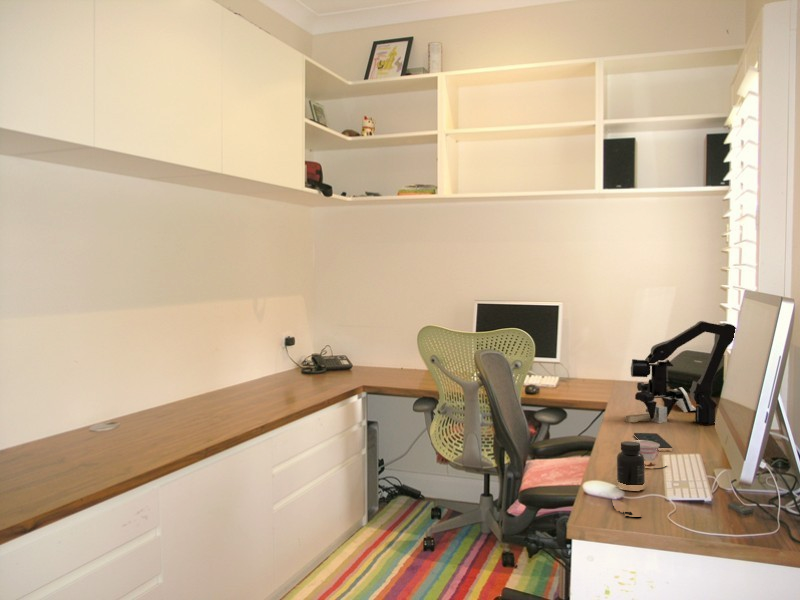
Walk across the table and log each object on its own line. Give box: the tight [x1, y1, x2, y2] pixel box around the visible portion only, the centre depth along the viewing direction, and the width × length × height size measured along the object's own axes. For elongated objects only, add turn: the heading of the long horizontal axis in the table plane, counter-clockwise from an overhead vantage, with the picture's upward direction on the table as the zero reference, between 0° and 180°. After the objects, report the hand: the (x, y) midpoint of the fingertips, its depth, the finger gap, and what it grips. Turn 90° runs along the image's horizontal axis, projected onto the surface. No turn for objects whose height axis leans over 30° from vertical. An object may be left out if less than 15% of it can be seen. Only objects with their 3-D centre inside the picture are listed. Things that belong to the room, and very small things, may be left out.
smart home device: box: [633, 432, 673, 448], centre depth 214 cm, size 8×2×20 cm
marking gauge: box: [645, 404, 668, 424], centre depth 249 cm, size 8×4×6 cm, turn 21°
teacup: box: [631, 439, 660, 461], centre depth 191 cm, size 12×12×6 cm
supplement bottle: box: [616, 440, 646, 485], centre depth 168 cm, size 7×7×12 cm
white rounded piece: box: [673, 387, 696, 413], centre depth 272 cm, size 17×5×10 cm, turn 166°
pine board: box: [624, 412, 652, 423], centre depth 249 cm, size 4×13×2 cm, turn 111°
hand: (659, 417), depth 247 cm, fingers open, 7 cm apart
